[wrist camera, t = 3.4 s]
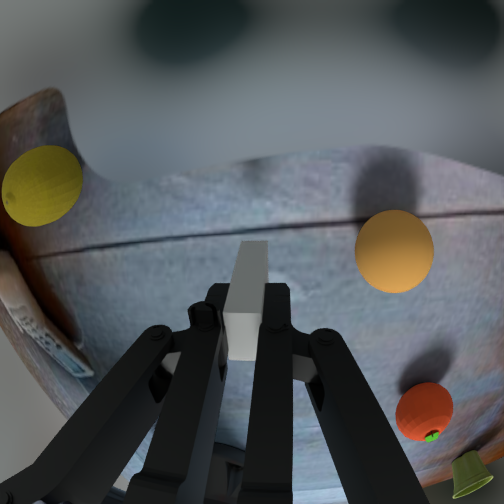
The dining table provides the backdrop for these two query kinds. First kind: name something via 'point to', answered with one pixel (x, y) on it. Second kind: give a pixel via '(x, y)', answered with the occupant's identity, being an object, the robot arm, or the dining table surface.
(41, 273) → the dining table surface
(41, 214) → the lemon
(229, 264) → the dining table surface
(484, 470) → the plant pot
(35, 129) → the dining table surface
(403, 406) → the clementine
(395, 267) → the ball
